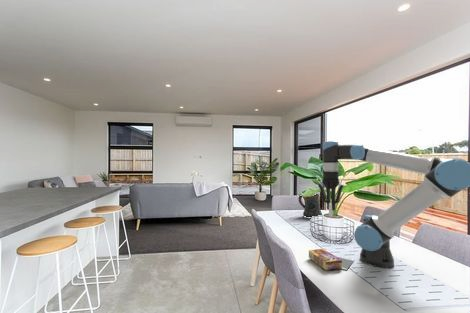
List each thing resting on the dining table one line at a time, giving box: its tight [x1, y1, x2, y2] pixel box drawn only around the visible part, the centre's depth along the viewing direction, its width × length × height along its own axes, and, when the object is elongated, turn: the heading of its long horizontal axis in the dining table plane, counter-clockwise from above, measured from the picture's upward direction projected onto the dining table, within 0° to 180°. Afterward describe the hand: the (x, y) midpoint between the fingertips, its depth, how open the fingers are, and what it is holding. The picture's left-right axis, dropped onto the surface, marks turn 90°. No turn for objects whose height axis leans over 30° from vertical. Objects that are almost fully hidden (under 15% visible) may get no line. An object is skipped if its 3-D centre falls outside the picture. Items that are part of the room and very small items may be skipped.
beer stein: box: [298, 193, 323, 217], centre depth 219 cm, size 16×19×25 cm
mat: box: [335, 255, 355, 272], centre depth 123 cm, size 14×14×1 cm
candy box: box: [308, 248, 342, 271], centre depth 121 cm, size 9×4×15 cm
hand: (331, 216), depth 126 cm, fingers closed
